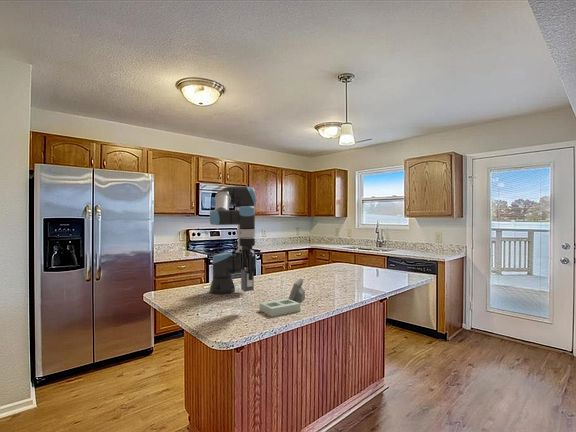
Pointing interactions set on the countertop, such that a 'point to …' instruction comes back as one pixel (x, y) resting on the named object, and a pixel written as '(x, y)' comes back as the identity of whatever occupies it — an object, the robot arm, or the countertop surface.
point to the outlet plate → (279, 307)
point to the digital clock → (297, 291)
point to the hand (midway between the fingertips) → (247, 285)
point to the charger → (245, 281)
